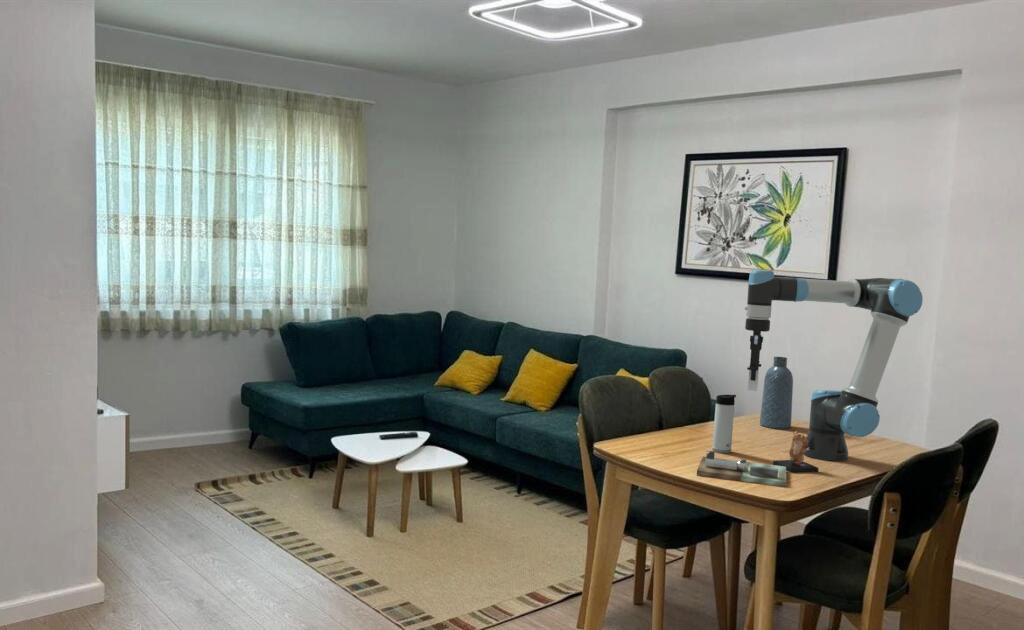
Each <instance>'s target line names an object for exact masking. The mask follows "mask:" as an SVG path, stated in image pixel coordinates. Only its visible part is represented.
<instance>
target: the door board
mask: <svg viewBox="0 0 1024 630" xmlns="http://www.w3.org/2000/svg"><path fill="white" fill-rule="evenodd" d="M748 462H749V466H748V471H739V470H732V469H725V468H717V467H709V466H705V465H706V456H702V458H701V460H700V463H699V465H698V467H697V469H696V476H698V477H707V478H715V479H723V480H729V481H738V482H739V481H740V482H745V483H754V484H760V485H768V486H775V487H777V486H778V487H782V488H786V487H787V471H786V467H785V466H776V465H773V464H767V463H760V462H751V461H748Z"/></svg>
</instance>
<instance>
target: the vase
mask: <svg viewBox="0 0 1024 630" xmlns="http://www.w3.org/2000/svg"><path fill="white" fill-rule="evenodd" d="M787 364H788V358H787V357H784V356H774V357H773V364H772V366H771V367H769V368H768V369H767V371H766V373H765V376H764V381H763V382H764V384H763V391H762V399H761V407H760V416H759V417H760V418H759V424H760V426H762V427H764V426H765V427H764V428H768V427H769V429H773V428H776V429H775V430H788V429H790V428H791V427H792V416H793V415H792V414H793V413H792V412H793V411H792V410H793V394H794V393H793V392H794V391H793V388H794V387H793V386H794V376H793V373H792V372H791V370H790V369H789V368H788V365H787Z"/></svg>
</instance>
